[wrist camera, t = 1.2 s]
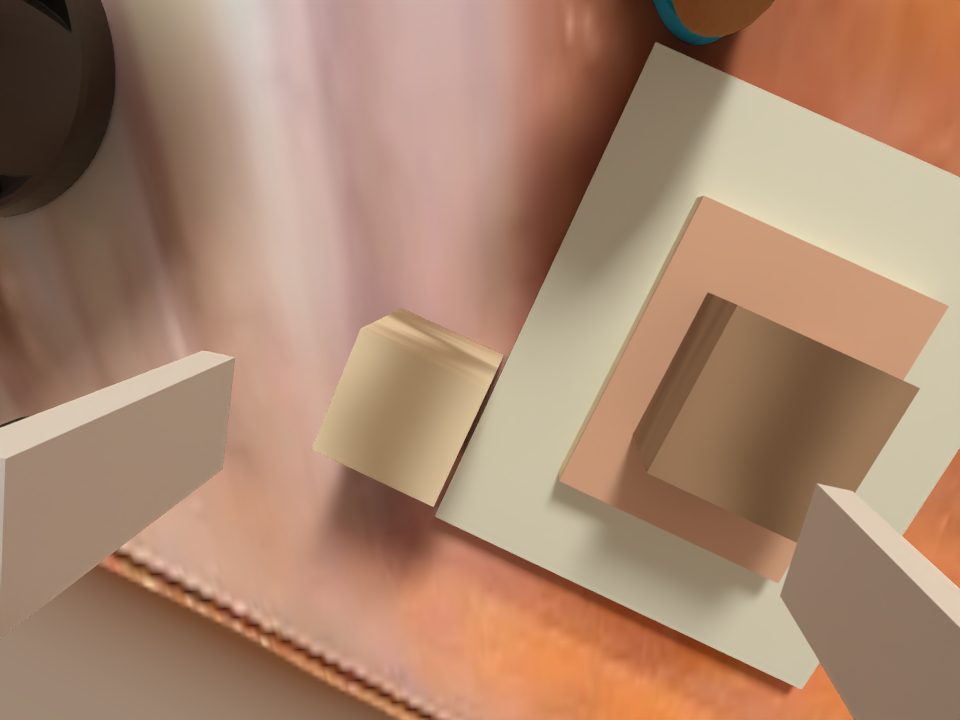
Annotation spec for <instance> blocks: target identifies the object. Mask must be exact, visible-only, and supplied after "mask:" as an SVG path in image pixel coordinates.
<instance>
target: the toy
mask: <svg viewBox="0 0 960 720" xmlns="http://www.w3.org/2000/svg"><path fill="white" fill-rule="evenodd" d="M653 2H654V4H655V7H656V10H657V12H658V14H659V16H660V18H661V20H662V21H663V23H664V24H665V26H666V27H667V28H668V29H669V30H670V32H671V33H672V34H673V35H675V36H676V37H677V38H678V39H680V40H682V41H684V42H686V43H689V44H693V45H705V44H710V43H712V42H715V41H717V40H719V39H720V38H722V37H723V36H725V35H729V34H733V33H735V32H737V31H739V30H741V29H743V28H745V27H747V26H749V25H750V24H751V23H753V22H754V21H755V20H756V19H757V18H758V17H759V16H760V15H762V14H763V13H764V12H765V11H766V10H767V9H768V8H769V7H770V6H771V5H772V3H773V2H774V0H653Z"/></svg>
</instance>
